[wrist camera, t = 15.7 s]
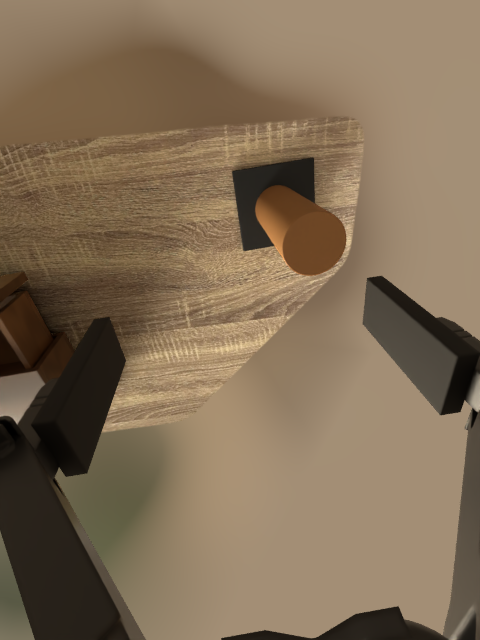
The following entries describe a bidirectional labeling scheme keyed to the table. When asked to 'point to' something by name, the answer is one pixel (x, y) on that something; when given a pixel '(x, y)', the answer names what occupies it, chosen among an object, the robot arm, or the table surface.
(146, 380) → the table surface
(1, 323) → the drawer
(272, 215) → the brown cylinder
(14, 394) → the cabinet
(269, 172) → the mat
